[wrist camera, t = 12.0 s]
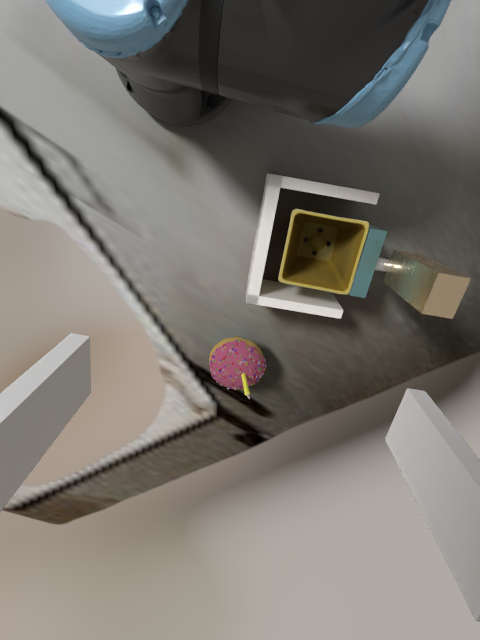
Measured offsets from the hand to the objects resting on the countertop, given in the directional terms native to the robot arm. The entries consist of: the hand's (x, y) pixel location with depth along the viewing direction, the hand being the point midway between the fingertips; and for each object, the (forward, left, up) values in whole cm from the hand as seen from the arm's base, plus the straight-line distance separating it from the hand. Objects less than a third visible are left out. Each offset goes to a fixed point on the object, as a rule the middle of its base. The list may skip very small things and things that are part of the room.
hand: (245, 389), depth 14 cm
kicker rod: (-1, +16, -36) cm, 39 cm away
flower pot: (-1, +9, -37) cm, 38 cm away
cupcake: (+18, +1, -37) cm, 41 cm away
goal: (-1, +7, -37) cm, 37 cm away
